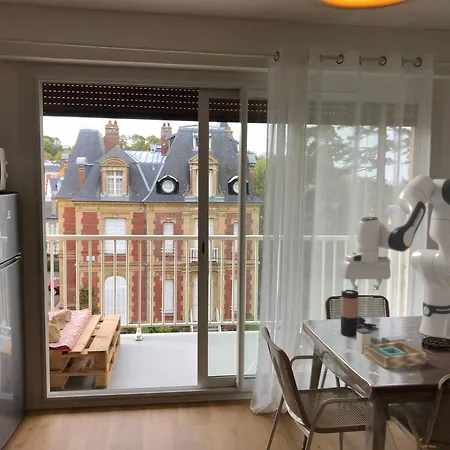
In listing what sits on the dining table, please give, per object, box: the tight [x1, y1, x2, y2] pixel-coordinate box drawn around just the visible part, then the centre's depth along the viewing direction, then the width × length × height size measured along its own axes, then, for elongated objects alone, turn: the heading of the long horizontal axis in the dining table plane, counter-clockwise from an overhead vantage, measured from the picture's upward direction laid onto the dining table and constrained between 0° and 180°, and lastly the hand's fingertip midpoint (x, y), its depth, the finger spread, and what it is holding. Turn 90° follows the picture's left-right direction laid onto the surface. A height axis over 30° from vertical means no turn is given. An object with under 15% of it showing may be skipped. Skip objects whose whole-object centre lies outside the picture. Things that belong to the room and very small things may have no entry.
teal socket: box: [378, 347, 406, 357], centre depth 181 cm, size 7×7×4 cm
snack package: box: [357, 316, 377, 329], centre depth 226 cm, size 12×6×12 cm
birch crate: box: [363, 342, 427, 370], centre depth 182 cm, size 18×14×4 cm
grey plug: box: [381, 335, 407, 344], centre depth 198 cm, size 9×4×4 cm, turn 107°
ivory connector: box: [355, 328, 372, 354], centre depth 192 cm, size 4×4×9 cm
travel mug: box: [340, 289, 359, 337], centre depth 215 cm, size 8×8×20 cm
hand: (365, 289), depth 192 cm, fingers open, 8 cm apart
